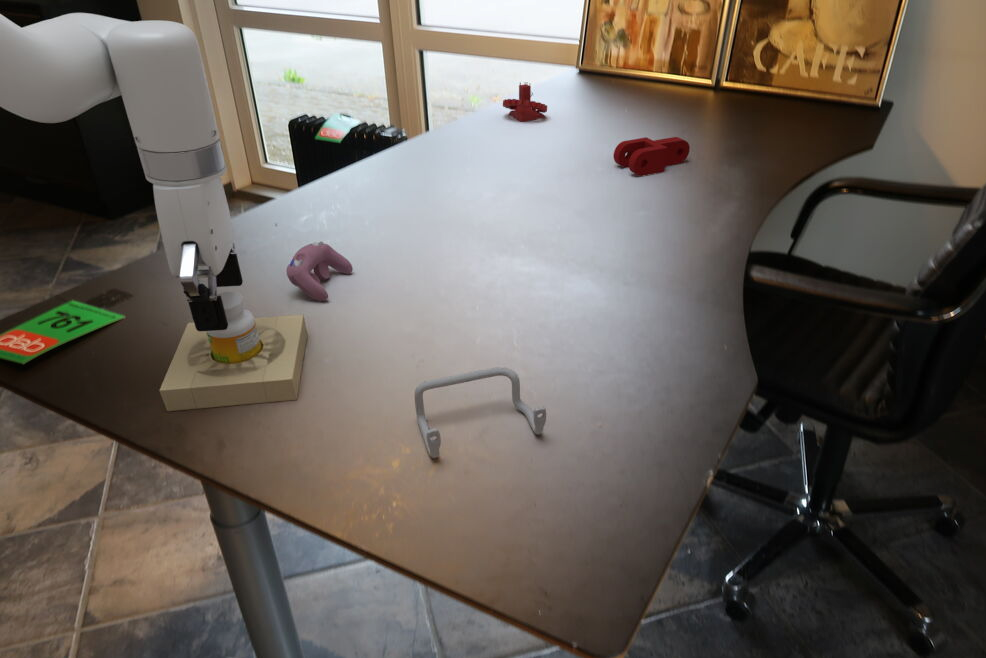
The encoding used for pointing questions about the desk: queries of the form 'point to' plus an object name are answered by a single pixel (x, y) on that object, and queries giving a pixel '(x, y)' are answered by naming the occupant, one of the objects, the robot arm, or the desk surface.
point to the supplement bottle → (235, 333)
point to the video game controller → (315, 268)
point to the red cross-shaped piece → (525, 106)
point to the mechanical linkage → (650, 154)
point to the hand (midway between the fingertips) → (221, 306)
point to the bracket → (427, 434)
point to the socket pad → (237, 368)
